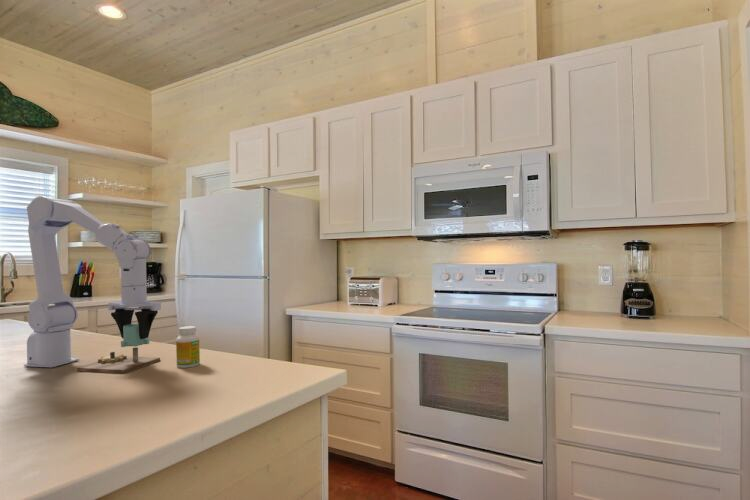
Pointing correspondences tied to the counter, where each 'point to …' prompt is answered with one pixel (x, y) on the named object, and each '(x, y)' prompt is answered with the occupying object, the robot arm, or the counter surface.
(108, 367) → the gear board
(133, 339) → the gear
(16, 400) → the counter surface
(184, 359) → the supplement bottle
